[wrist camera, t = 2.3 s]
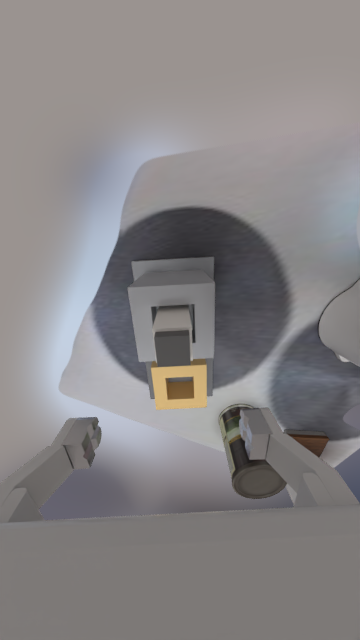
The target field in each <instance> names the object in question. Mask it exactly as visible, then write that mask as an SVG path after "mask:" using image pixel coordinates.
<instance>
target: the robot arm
mask: <svg viewBox="0 0 360 640" xmlns="http://www.w3.org/2000/svg"><path fill="white" fill-rule="evenodd" d="M319 336H320V339H321V341H322V342H323V344H324V345H325V346H327V347H328V348H330V349H331V350H333V351H334V352H335V354H336V356H337V358H338V359H339V360H341V361H343V362H349V361H350V362H352V363H354V364H356V365H357V366H359V367H360V279H359V280H358V281H357V282H356V283H355V285H354V286H353V287H351V288H350V289H348V290H347V291H345V292H343V293H342V294H340V295H339V296H338V297H336V298H335V299H334V300H333V301H332V302H331V303H330V304H329V305H328V307H327V308H326V309H325V311H324V313H323V315H322V317H321V319H320V323H319ZM240 416H241V419H240V420H239V428H240V433H241V437H242V439H243V440H244V441H245V448H246V451H247V454H248V457H249V460H256V459H266V461H267V462H268V463H269V464H270V465H271V466H272V467H273V468H274V470H275V471H276V472H277V473H278V474H279V475H280V476H281V477H282V478H283V479H284V480H285V481H286V482H287V483H288V485H289V486H290V487H291V488H292V489H293V490H294V491H295V492H296V493H297V496H296V500H295V503H294V506H293V508H276V509H257V510H237V511H218V512H198V513H178V514H159V515H141V516H121V517H103V518H82V519H63V520H44V519H43V516H42V515H41V513H40V511H39V509H40V508H41V506H42V505H43V504H44V503H45V502H46V501H47V500H48V499H49V497H50V496H51V495H52V494H53V493H54V492H55V491H56V490H57V488H58V487H59V486H60V485H61V484H62V483H63V482H64V481H65V479H66V478H67V477H68V476H69V475H70V474H71V473H72V472H73V469H84V468H90V467H91V464H92V462H93V459H94V456H95V453H94V450H95V449H96V448H97V447H98V446H99V444H100V440H101V428H100V427H99V426H98V422H99V421H98V419H97V417H88V418H69V419H68V420H67V421H66V422H65V424H64V426H63V427H62V429H61V431H60V432H59V434H58V435H57V437H56V438H55V440H54V442H53V443H52V445H51V446H48V447H46V448H45V449H44V450H42V451H41V452H40V453H39V454H37V455H36V456H35V457H33V458H32V459H31V460H30V461H28V462H27V463H26V464H24V465H23V466H22V467H20V468H19V469H18V470H17V471H15V472H14V473H13V474H11V475H10V476H9V477H8V478H6V479H5V480H4V481H2V482H1V483H0V640H360V503H359V502H358V501H357V499H356V498H355V496H354V495H353V494H352V492H351V491H350V489H349V488H348V486H347V485H346V484H345V482H344V481H343V479H342V478H341V477H340V475H339V474H338V472H337V471H336V470H335V469H334V468H332V467H331V466H330V465H328V464H327V463H325V462H324V461H323V460H321V459H320V458H319V457H317V456H316V455H315V454H313V453H312V452H311V451H309V450H308V449H306V448H305V447H304V446H302V445H301V444H300V443H298V442H297V441H296V440H294V439H293V438H292V437H290V436H289V435H287V434H283V432H282V430H281V428H280V427H279V425H278V423H277V421H276V420H275V418H274V416H273V415H272V413H271V411H270V409H269V408H251V409H241V410H240Z"/></svg>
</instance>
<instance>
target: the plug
mask: <svg viewBox="0 0 360 640" xmlns="http://www.w3.org/2000/svg"><path fill="white" fill-rule="evenodd" d="M152 333H153V342H154V350H155V358H156V363H157V367H170V366H189V365H191V362H190V361H193V349H192V325H191V320H190V314H189V308H188V305H171V306H159V308H158V311H157V314H156V318H155V321H154V324H153V328H152Z"/></svg>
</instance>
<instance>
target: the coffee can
mask: <svg viewBox="0 0 360 640" xmlns="http://www.w3.org/2000/svg"><path fill="white" fill-rule="evenodd" d="M251 408H253V407H251V406H249V405H245V404H237V405H233V406H230V407H228V408H226V409H225V410H224V411H223V412H222V413H221V414H220V416H219V425H220V429H221V433H222V438H223V442H224V447H225V451H226V455H227V460H228V465H229V469H230V473H231V478H232V486H233V488H234V490H235V492H236V493H238V494H239V495H241V496H243V497H246V498H252V499H260V498H267V497H270V496H273V495H275V494H277V493H279V492H280V491H281V490H282V489H284V487H285V486H286V485H287V482H286V481H285V480H284V479H283V478H282V477H281V476H280V475H279V474H278V473H277V472H276V471H275V470H274V468H273V467H272V466H271V465H270V464H269V463H268V462H267V461H266V459H256V460H249V457H248V454H247V451H246V448H245V441H244V440H243V439H242V437H241V433H240V428H239V420H240V419H241V416H240V410H241V409H251Z"/></svg>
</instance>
